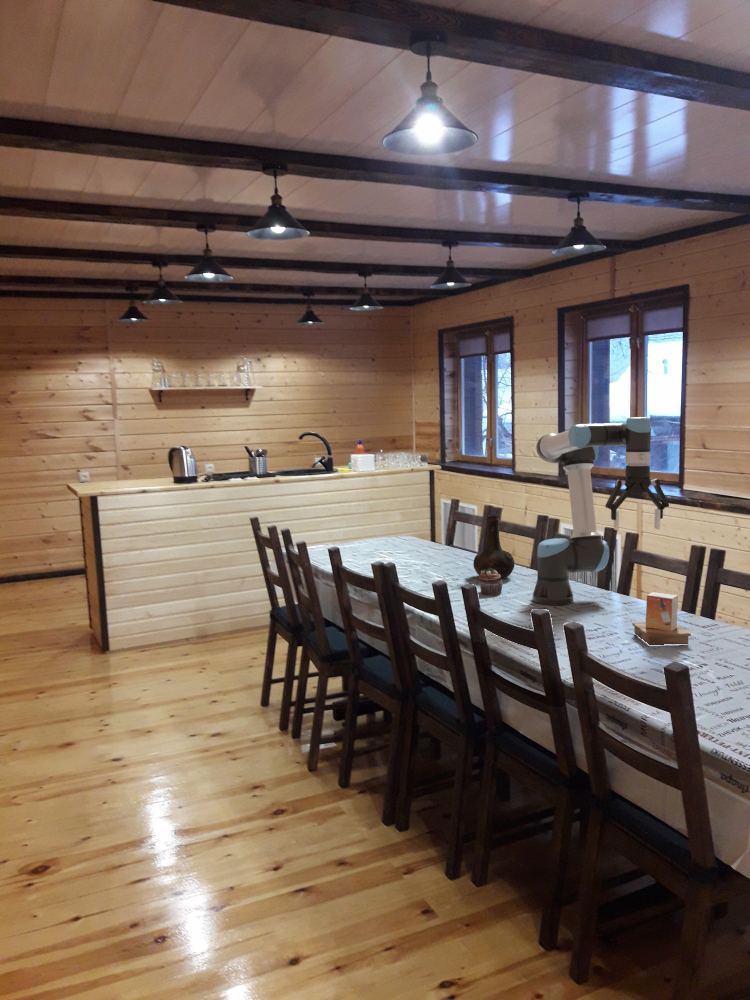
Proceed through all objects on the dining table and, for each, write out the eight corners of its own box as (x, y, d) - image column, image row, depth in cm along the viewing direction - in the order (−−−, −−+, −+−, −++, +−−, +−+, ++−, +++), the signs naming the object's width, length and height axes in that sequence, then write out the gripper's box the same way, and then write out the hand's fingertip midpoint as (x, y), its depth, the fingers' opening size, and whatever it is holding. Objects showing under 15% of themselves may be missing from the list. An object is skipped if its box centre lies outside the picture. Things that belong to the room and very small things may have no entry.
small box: (645, 627, 230) (645, 594, 229) (651, 623, 234) (652, 591, 233) (671, 632, 225) (672, 598, 224) (677, 627, 229) (678, 594, 228)
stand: (632, 634, 236) (632, 622, 236) (672, 633, 237) (672, 621, 236) (648, 647, 224) (648, 634, 223) (690, 646, 224) (690, 633, 223)
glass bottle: (502, 584, 309) (502, 518, 306) (465, 579, 320) (465, 515, 317) (521, 576, 323) (521, 513, 320) (485, 572, 334) (485, 511, 331)
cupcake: (492, 597, 289) (492, 572, 288) (474, 592, 296) (473, 568, 295) (508, 592, 295) (508, 568, 294) (490, 588, 303) (489, 564, 301)
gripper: (603, 466, 236) (602, 532, 238) (680, 464, 236) (679, 529, 239) (596, 465, 243) (595, 528, 246) (670, 463, 244) (669, 526, 246)
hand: (636, 529), depth 242 cm, fingers open, 13 cm apart
